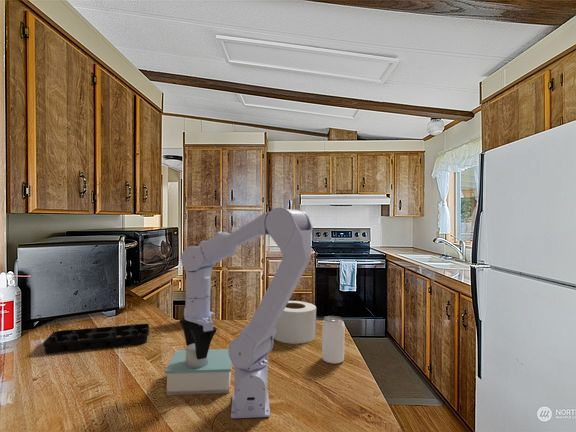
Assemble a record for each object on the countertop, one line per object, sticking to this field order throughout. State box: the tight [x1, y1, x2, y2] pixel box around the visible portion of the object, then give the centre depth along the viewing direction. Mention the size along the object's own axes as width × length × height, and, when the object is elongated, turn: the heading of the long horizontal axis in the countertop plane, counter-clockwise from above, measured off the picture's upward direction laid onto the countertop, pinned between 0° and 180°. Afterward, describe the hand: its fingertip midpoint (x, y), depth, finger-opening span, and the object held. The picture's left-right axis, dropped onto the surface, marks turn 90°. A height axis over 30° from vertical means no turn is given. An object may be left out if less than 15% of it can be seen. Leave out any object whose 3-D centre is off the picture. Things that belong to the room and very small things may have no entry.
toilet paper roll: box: [274, 300, 317, 345], centre depth 117 cm, size 16×15×11 cm
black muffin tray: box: [42, 323, 150, 355], centre depth 107 cm, size 18×30×4 cm, turn 123°
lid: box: [164, 348, 233, 375], centre depth 82 cm, size 12×15×1 cm
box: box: [166, 367, 233, 396], centre depth 83 cm, size 12×14×5 cm
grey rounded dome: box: [185, 343, 208, 368], centre depth 80 cm, size 5×5×4 cm
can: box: [321, 315, 346, 365], centre depth 98 cm, size 6×6×12 cm
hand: (196, 353), depth 80 cm, fingers open, 6 cm apart
